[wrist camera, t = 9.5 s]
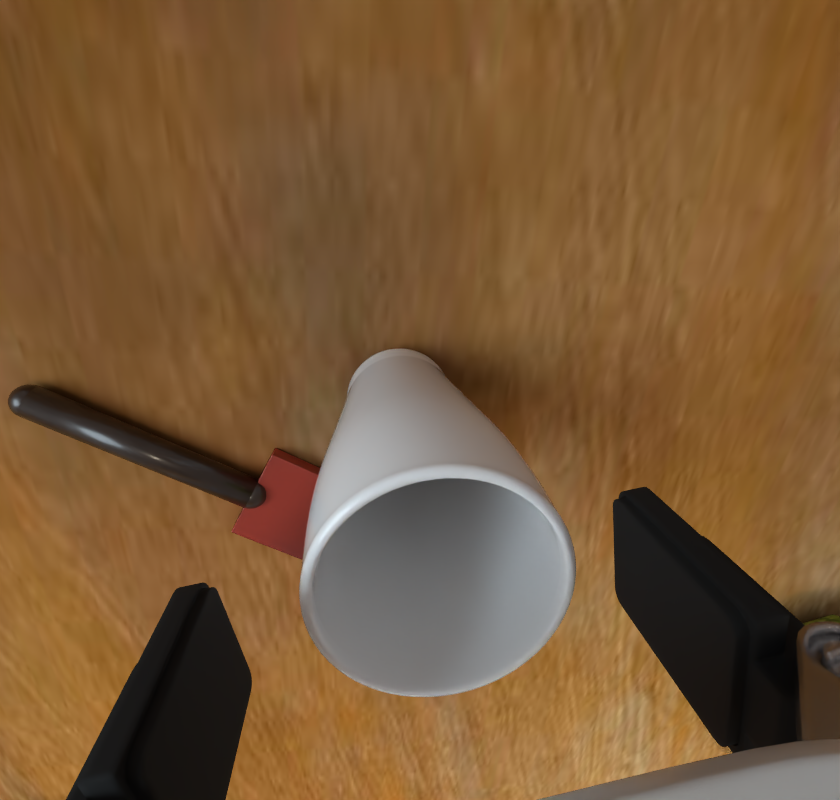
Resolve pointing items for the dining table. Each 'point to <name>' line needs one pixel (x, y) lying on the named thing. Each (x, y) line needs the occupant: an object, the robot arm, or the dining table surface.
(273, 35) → the dining table surface
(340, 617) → the drinking glass
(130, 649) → the dining table surface
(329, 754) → the dining table surface
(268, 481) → the spatula
